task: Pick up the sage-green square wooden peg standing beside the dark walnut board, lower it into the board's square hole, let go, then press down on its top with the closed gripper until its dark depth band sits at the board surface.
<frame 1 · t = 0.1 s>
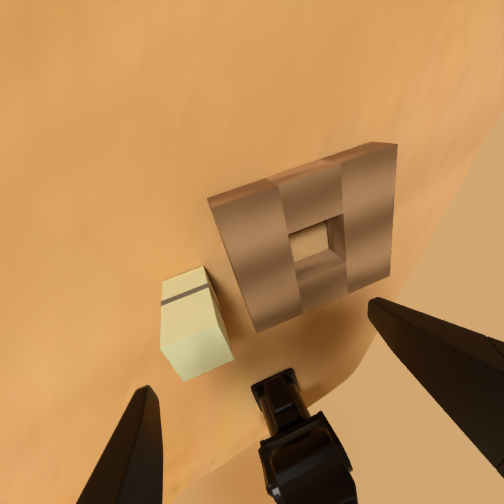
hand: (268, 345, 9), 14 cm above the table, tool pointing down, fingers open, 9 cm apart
board: (303, 236, 25), on the table
peg: (190, 289, 24), on the table
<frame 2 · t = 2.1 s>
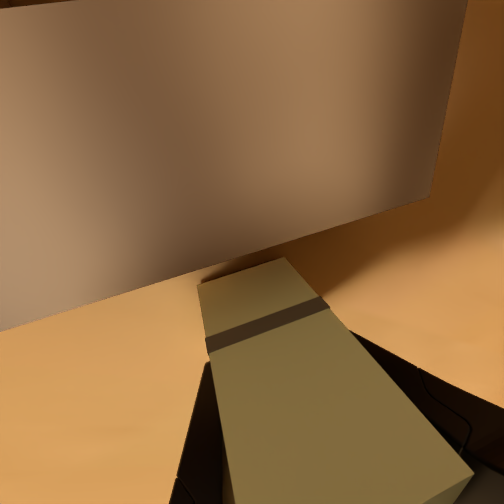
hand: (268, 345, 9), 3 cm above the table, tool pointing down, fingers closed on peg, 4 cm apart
peg: (250, 304, 12), on the table, touching gripper
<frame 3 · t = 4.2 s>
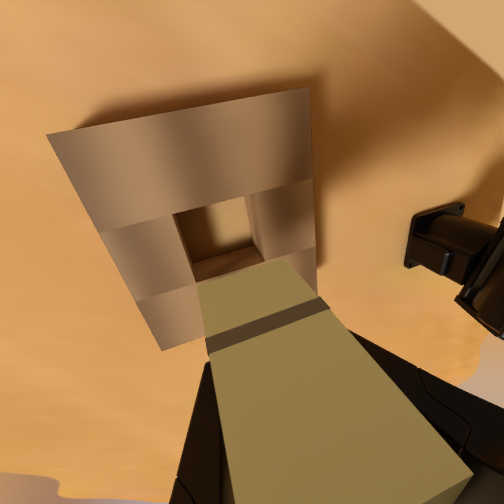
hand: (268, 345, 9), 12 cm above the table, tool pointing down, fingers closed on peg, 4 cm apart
board: (216, 225, 19), on the table
peg: (250, 305, 12), point 10 cm above the table, touching gripper
when the fingers open (4 cm above the table, at t = 6.7 s): peg drops 2 cm, resting in board.
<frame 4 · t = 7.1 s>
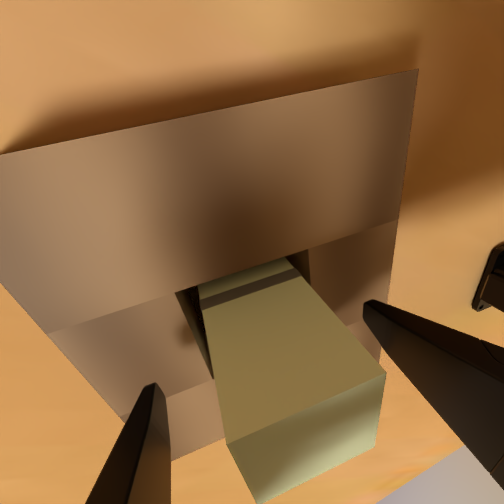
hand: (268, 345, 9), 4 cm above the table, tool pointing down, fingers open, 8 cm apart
board: (239, 282, 13), on the table
peg: (240, 282, 13), resting in board
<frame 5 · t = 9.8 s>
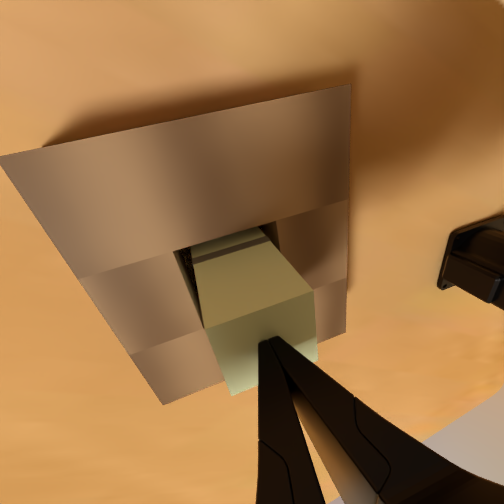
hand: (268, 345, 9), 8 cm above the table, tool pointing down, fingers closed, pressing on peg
board: (226, 253, 16), on the table
peg: (227, 253, 16), resting in board, touching gripper
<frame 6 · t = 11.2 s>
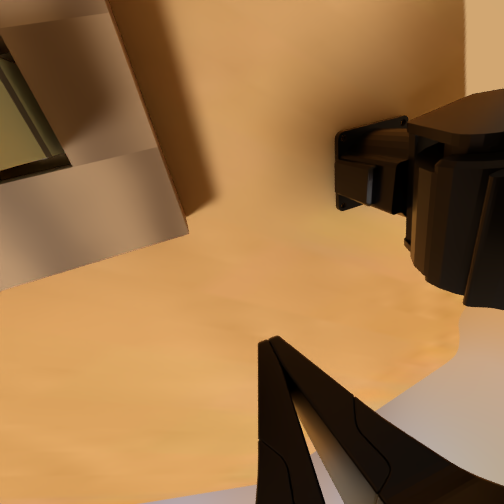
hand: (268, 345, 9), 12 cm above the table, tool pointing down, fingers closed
board: (10, 120, 13), on the table
peg: (11, 121, 13), resting in board
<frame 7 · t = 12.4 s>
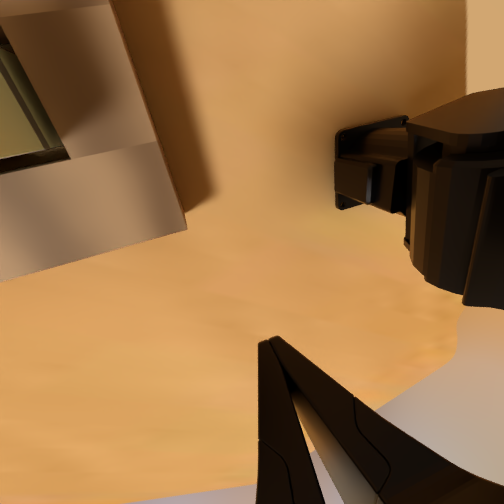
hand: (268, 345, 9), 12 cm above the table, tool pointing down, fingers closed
board: (9, 112, 13), on the table
peg: (10, 112, 13), resting in board
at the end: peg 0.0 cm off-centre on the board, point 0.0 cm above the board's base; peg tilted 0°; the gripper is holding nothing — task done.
